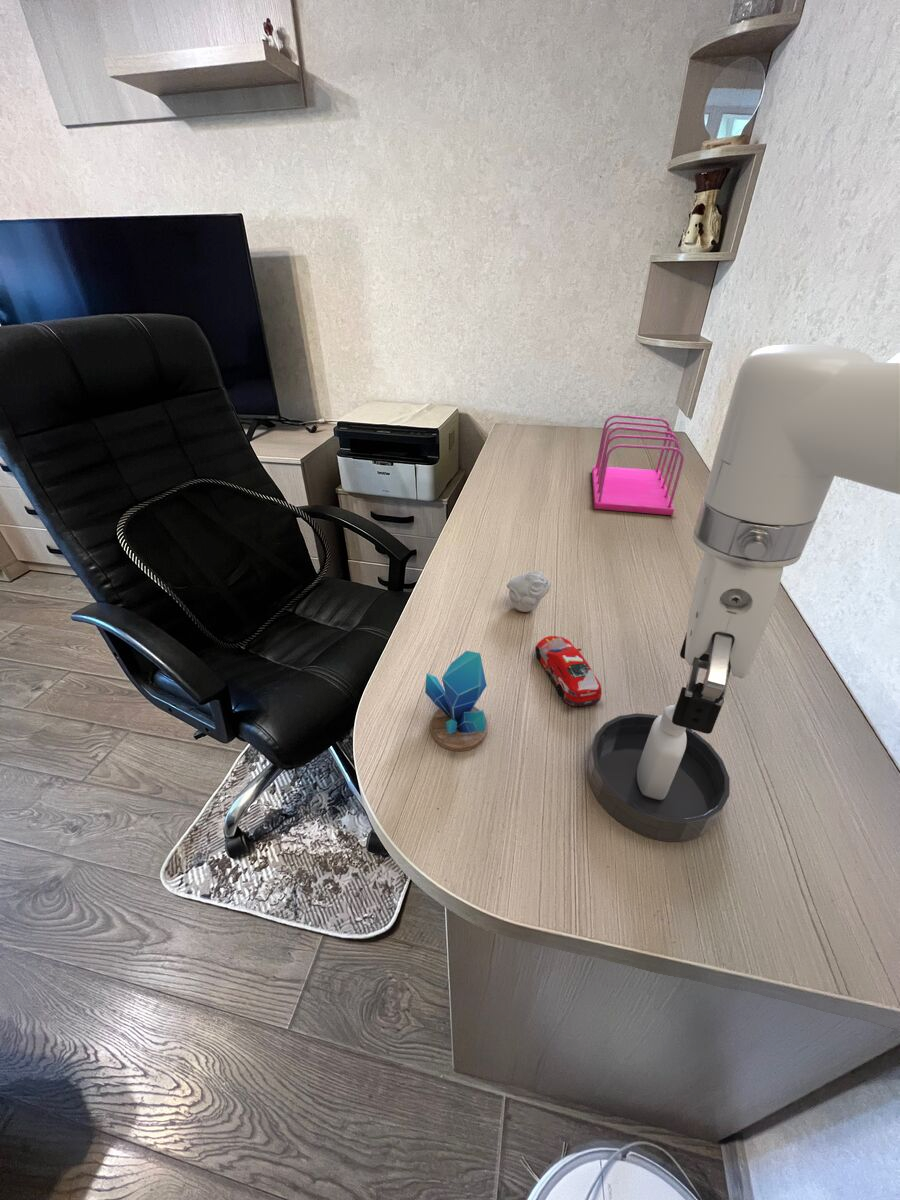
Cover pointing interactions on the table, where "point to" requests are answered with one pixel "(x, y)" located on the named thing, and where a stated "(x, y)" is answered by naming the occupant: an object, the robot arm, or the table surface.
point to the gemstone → (458, 704)
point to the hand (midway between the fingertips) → (693, 690)
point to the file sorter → (635, 474)
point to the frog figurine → (528, 590)
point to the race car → (568, 671)
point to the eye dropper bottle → (661, 756)
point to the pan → (689, 796)
